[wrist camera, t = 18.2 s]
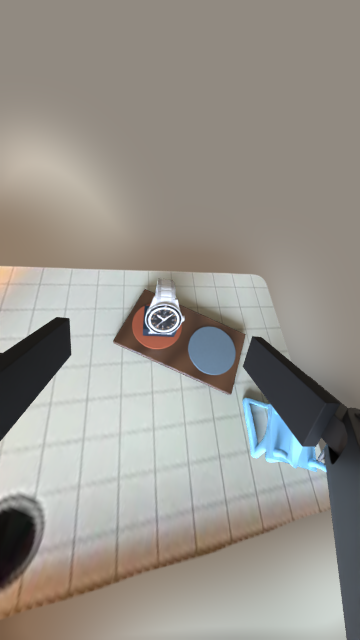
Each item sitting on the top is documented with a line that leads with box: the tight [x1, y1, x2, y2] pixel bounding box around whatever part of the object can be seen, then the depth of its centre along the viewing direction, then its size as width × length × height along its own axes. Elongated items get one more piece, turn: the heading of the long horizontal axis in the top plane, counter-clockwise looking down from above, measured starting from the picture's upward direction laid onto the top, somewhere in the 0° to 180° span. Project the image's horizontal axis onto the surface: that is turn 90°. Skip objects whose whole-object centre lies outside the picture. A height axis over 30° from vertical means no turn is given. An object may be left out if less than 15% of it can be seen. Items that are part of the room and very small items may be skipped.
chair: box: [243, 398, 326, 472], centre depth 25 cm, size 8×8×12 cm
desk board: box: [113, 289, 245, 395], centre depth 34 cm, size 22×12×1 cm, turn 68°
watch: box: [143, 278, 185, 337], centre depth 28 cm, size 6×8×11 cm
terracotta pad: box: [132, 304, 182, 349], centre depth 33 cm, size 9×9×1 cm
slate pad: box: [188, 327, 236, 375], centre depth 34 cm, size 9×9×1 cm
